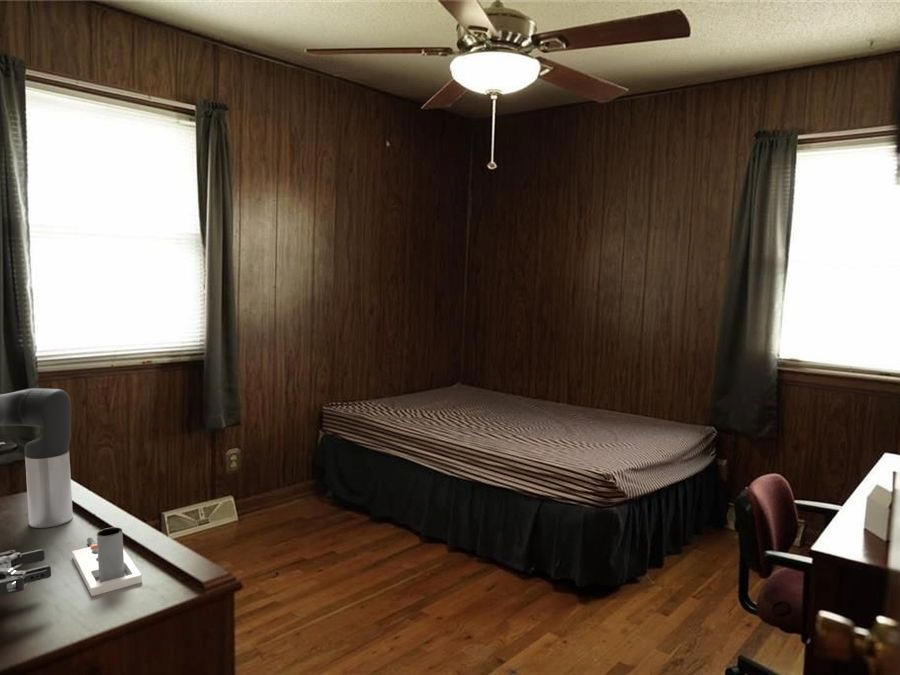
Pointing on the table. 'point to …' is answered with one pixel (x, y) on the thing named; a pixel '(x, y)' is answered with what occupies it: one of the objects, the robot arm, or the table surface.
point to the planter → (110, 554)
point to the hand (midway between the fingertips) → (47, 562)
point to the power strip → (90, 570)
